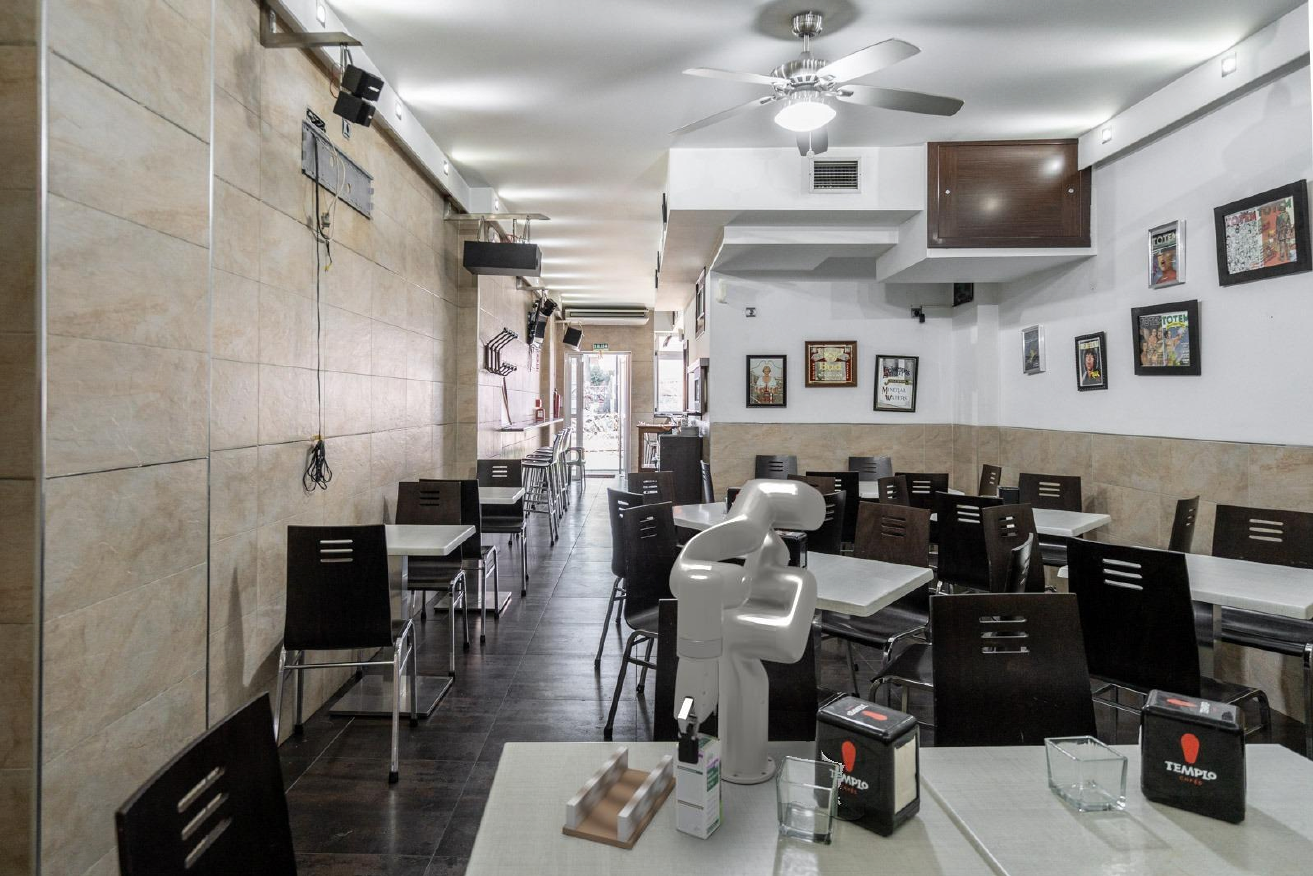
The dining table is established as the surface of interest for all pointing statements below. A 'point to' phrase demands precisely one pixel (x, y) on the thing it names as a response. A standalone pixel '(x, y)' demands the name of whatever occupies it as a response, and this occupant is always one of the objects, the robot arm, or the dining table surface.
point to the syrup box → (700, 790)
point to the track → (618, 801)
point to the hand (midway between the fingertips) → (697, 749)
